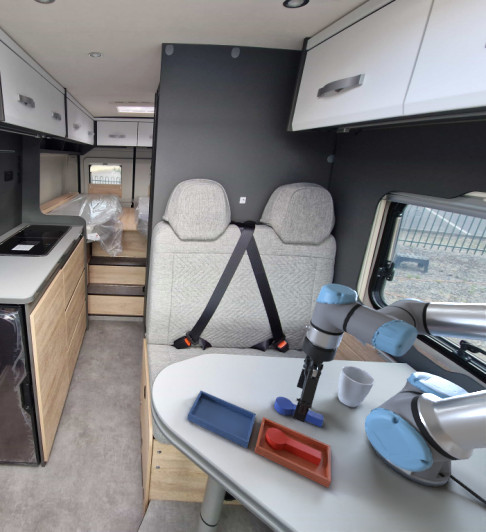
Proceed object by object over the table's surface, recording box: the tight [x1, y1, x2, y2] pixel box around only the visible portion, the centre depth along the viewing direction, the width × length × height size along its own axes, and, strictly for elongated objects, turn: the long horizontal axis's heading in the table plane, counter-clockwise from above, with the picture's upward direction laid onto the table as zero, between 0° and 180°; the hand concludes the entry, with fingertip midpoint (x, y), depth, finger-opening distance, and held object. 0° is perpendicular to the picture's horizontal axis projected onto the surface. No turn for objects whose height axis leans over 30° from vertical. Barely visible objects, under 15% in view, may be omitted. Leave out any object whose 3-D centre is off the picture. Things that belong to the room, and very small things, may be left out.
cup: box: [337, 365, 376, 408], centre depth 93 cm, size 8×8×10 cm
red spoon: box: [265, 428, 321, 466], centre depth 77 cm, size 12×5×2 cm, turn 59°
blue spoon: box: [273, 396, 325, 428], centre depth 89 cm, size 12×5×2 cm, turn 59°
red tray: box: [254, 416, 332, 489], centre depth 78 cm, size 16×11×2 cm, turn 59°
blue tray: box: [186, 390, 257, 449], centre depth 86 cm, size 16×11×2 cm, turn 59°
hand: (300, 402), depth 88 cm, fingers open, 13 cm apart
